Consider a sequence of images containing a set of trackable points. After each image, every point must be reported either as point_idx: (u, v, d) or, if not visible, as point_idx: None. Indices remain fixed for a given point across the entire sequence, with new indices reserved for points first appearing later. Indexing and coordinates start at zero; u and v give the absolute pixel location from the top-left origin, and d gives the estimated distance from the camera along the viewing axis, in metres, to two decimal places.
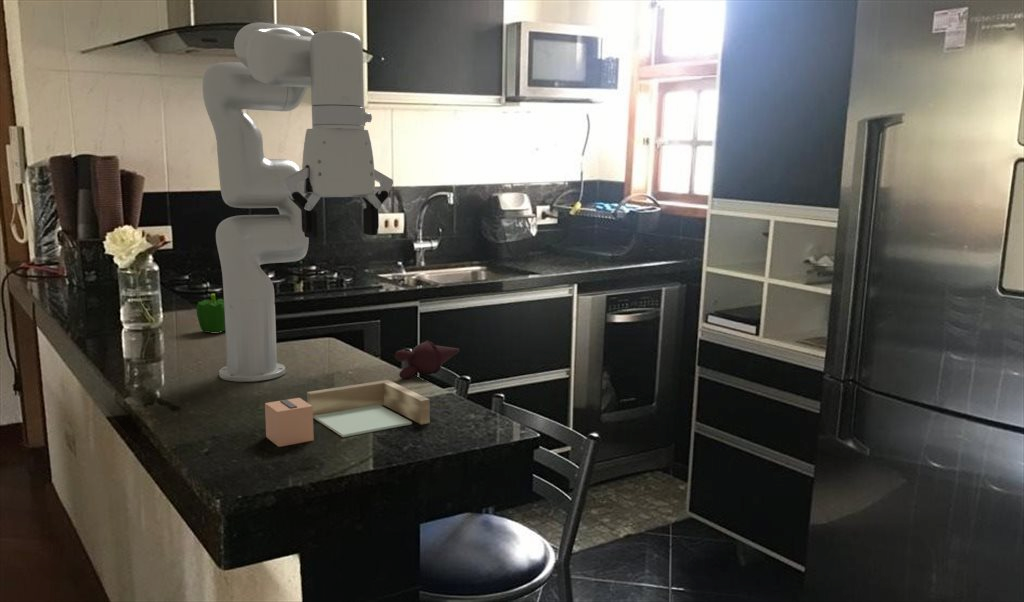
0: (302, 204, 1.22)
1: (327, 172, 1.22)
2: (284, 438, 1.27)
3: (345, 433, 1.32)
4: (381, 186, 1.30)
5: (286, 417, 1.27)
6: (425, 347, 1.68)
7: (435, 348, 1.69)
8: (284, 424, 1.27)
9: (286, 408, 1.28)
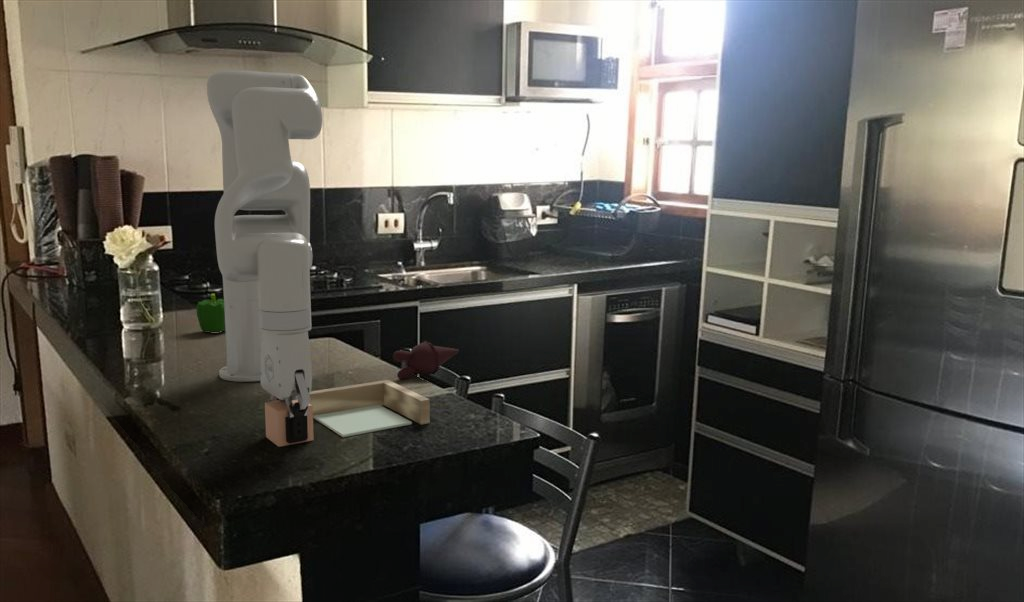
0: (304, 413, 1.26)
1: None
2: (284, 437, 1.27)
3: (345, 433, 1.32)
4: None
5: (286, 416, 1.27)
6: (423, 348, 1.68)
7: (433, 349, 1.68)
8: (284, 423, 1.27)
9: (286, 407, 1.28)
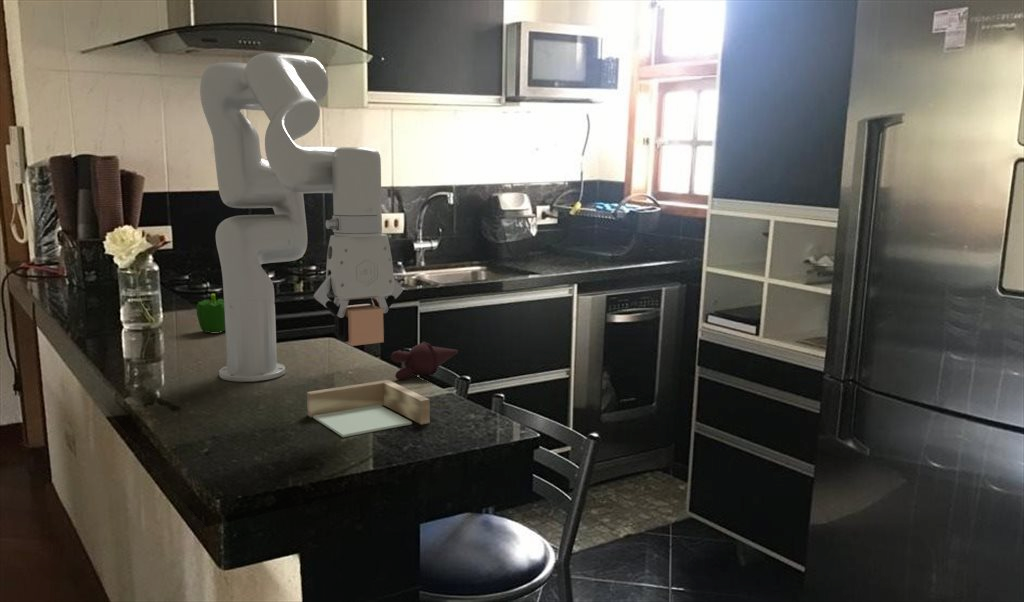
0: None
1: None
2: None
3: (345, 433, 1.32)
4: (326, 297, 1.33)
5: None
6: (422, 348, 1.67)
7: (432, 349, 1.68)
8: None
9: (371, 307, 1.36)
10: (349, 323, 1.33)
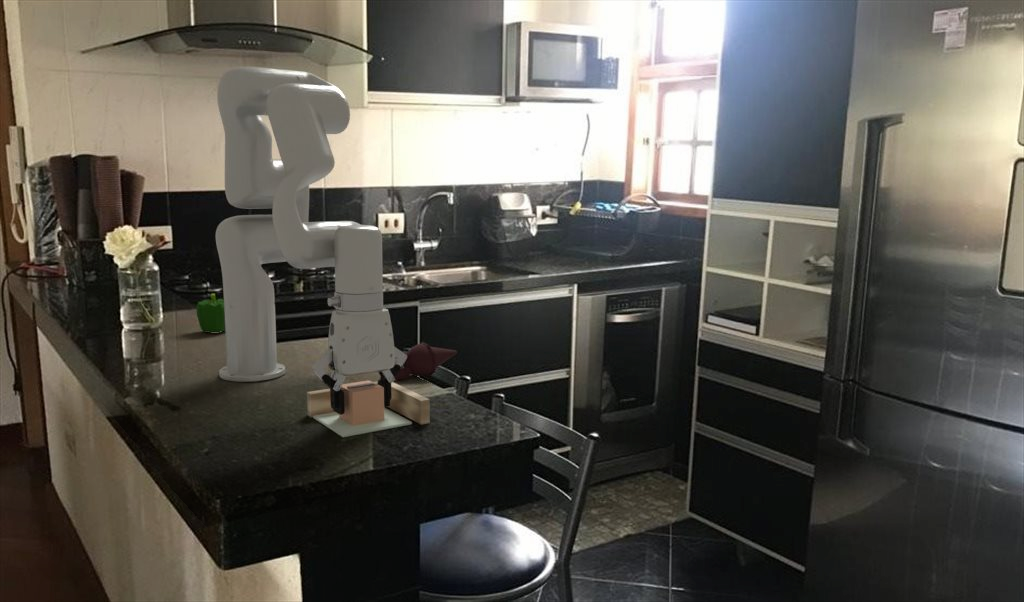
0: None
1: None
2: None
3: (345, 433, 1.32)
4: None
5: None
6: (420, 349, 1.67)
7: (430, 350, 1.67)
8: None
9: (372, 386, 1.39)
10: (350, 403, 1.36)
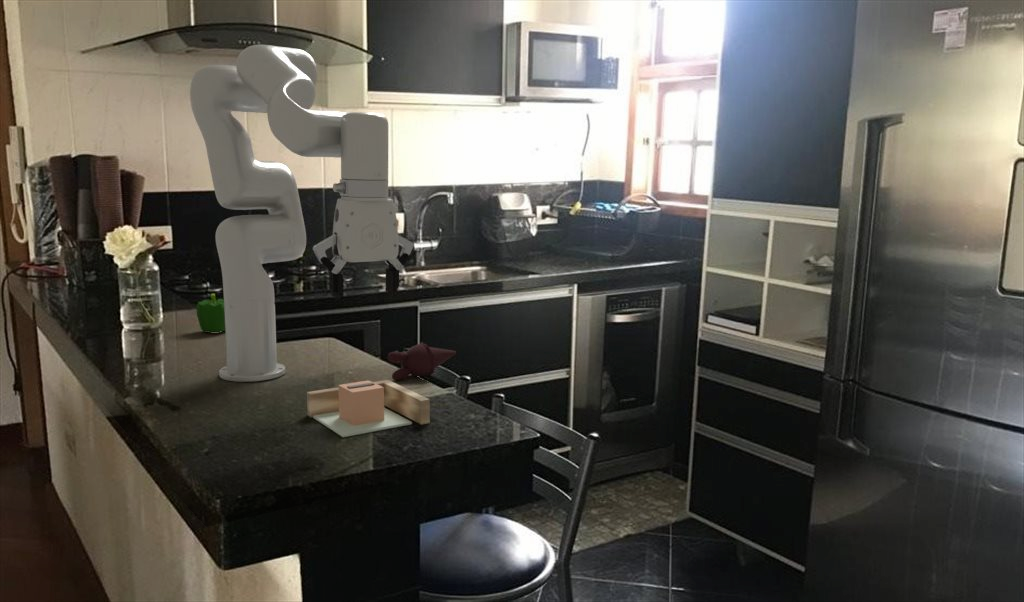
0: None
1: None
2: None
3: (345, 433, 1.32)
4: None
5: None
6: (419, 349, 1.66)
7: (429, 350, 1.67)
8: None
9: (372, 386, 1.39)
10: (350, 403, 1.36)
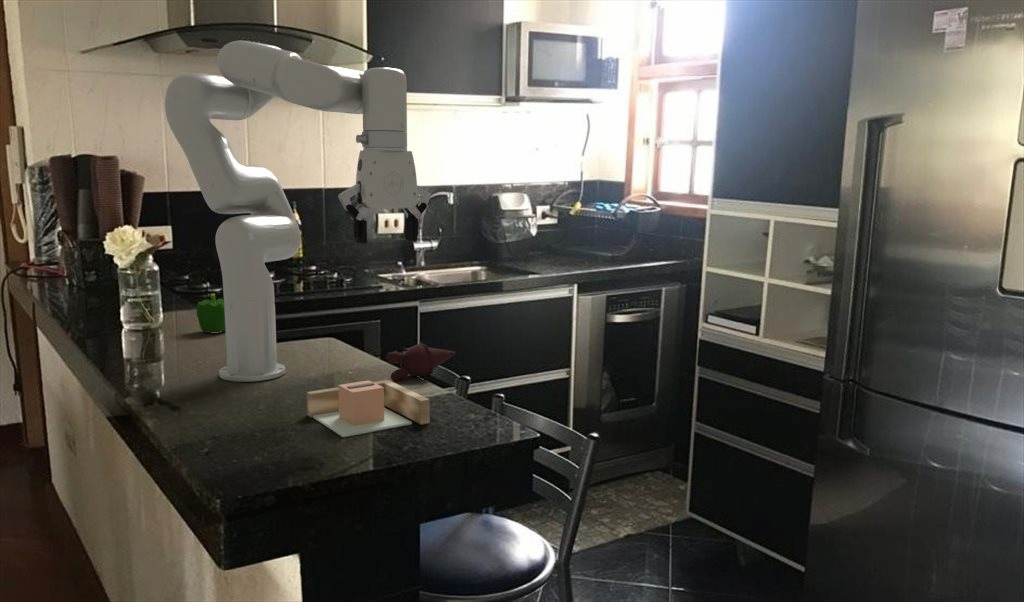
0: None
1: None
2: None
3: (345, 433, 1.32)
4: None
5: None
6: (418, 349, 1.66)
7: (428, 350, 1.66)
8: None
9: (372, 386, 1.39)
10: (350, 403, 1.36)
